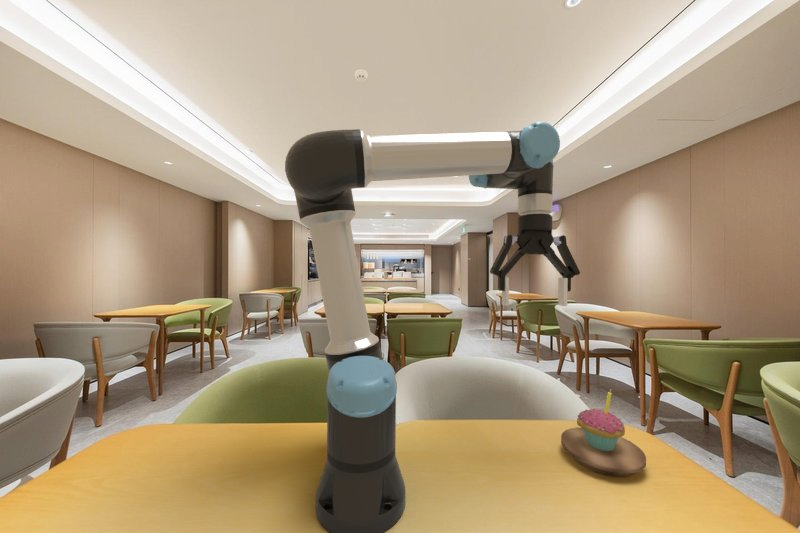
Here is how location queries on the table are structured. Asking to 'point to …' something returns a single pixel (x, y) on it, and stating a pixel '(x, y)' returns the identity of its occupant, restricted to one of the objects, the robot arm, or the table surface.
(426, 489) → the table surface
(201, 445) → the table surface
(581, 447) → the brown plate
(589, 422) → the cupcake
